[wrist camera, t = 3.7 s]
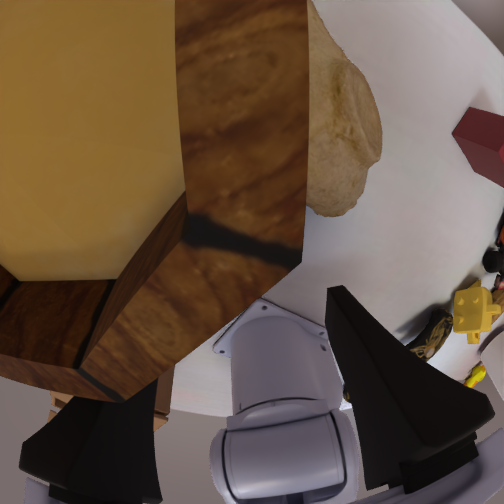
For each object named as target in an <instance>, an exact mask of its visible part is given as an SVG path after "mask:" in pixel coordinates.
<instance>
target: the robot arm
mask: <svg viewBox="0 0 504 504" xmlns="http://www.w3.org/2000/svg"><path fill="white" fill-rule="evenodd" d="M263 306H266V307H263ZM325 326H326V328H324V327H321V326H319V325H317V324H315V323H312V322H310V321H308V320H306V319H304V318H301V317H299V316H297V315H295V314H293V313H291V312H288V311H286V310H284V309H282V308H280V307H278V306H275V305H273V304H271V303H269V302H267V301H265V300H263V299H257V300H256V301H255V302H254V303H252V305H251V306H250V307H249V308H248V309H247V310H246V311H245V312H244V313H243V314H242V316H241V317H240V318H239V319H238V320H237V321H236V322H235V323H234V324H233V325H232V326H231V328H230V329H229V330H228V331H227V332H226V333H225V334H224V335H223V336H222V337H221V338H220V339H219V341H218V342H217V343H216V344H215V345H214V346H213V351H214V352H215V353H218V354H221V355H223V356H226V357H229V358H231V380H232V404H233V416H228V417H227V428H226V429H220V430H219V431H218V432H217V434H216V436H215V437H214V438H213V440H212V443H211V447H210V469H211V474H212V478H213V482H214V484H215V486H216V489H217V490H218V492H219V493H220V494H221V495H222V497H223V498H224V500H225V503H226V504H484V503H485V502H486V501H487V500H488V499H490V498H491V497H492V496H493V495H494V494H496V493H497V492H498V491H499V490H500V489H501V488H502V487H503V486H504V431H503V428H499V429H498V430H497V431H495V432H494V433H492V434H491V435H490V436H488V437H487V438H485V439H484V440H483V441H481V442H478V443H477V444H475V442H474V440H475V439H477V435H476V432H475V431H476V430H477V429H479V428H480V427H482V426H483V425H484V424H486V423H487V422H488V421H490V420H491V419H492V418H493V417H494V415H495V412H494V410H493V407H492V405H491V403H490V401H489V399H488V397H487V396H486V394H483V393H481V392H479V391H477V390H474V389H472V388H470V387H468V386H465V385H463V384H461V383H460V382H458V381H456V380H454V379H452V378H450V377H449V376H447V375H445V374H444V373H442V372H441V371H439V370H437V369H436V368H434V367H433V366H431V365H430V364H428V363H427V362H425V361H424V360H422V359H421V358H420V357H418V356H417V355H416V354H414V353H413V352H412V351H411V350H409V349H408V348H407V347H406V346H404V345H403V344H402V343H401V342H400V341H398V340H397V339H396V338H395V337H394V336H393V335H392V334H391V333H389V332H388V331H387V330H386V329H385V328H384V327H383V326H382V325H381V324H380V323H379V322H378V321H377V320H376V319H375V318H374V317H373V316H372V315H371V314H370V313H369V312H368V311H367V310H366V309H365V308H364V307H363V306H362V305H361V304H360V303H359V302H358V301H357V299H356V298H355V297H354V296H353V295H352V294H351V293H350V292H349V291H348V290H347V289H346V287H345V286H343V285H340V286H335V287H330V288H327V301H326V313H325ZM328 340H329V342H330V345H331V348H332V351H333V353H334V356H335V359H336V361H337V364H338V366H339V369H340V372H341V374H342V377H343V380H344V382H345V385H346V388H347V390H348V393H349V397H350V400H351V404H352V408H353V412H354V416H355V420H356V425H357V431H358V436H359V441H360V447H361V453H362V461H363V468H364V478H365V484H366V489H367V491H368V490H371V489H374V488H377V487H380V486H383V485H386V484H388V486H389V490H386V491H384V492H381V493H378V494H375V495H373V496H369V497H367V498H363V499H360V500H357V501H355V499H356V498H357V492H358V490H359V483H358V473H359V469H360V461H359V453H358V447H357V442H356V438H355V434H354V431H353V428H352V425H351V422H350V420H349V418H348V416H347V415H346V414H345V413H344V412H342V411H340V410H339V408H340V405H341V402H342V396H343V388H342V383H341V380H340V377H339V374H338V371H337V368H336V365H335V362H334V359H333V356H332V353H331V350H330V347H329V344H328ZM158 378H159V377H158ZM158 378H156V379H155V380H154V381H152V382H151V383H150V384H148V385H147V386H146V387H144V388H143V389H141V390H140V391H139V392H137V393H136V394H134V395H133V396H132V397H130V398H129V399H128V400H126V401H125V402H123V403H117V402H109V401H102V400H95V399H89V398H84V397H78V396H73V397H72V398H71V399H70V401H69V402H68V403H67V404H66V405H65V406H64V407H63V408H62V409H61V410H60V411H59V412H58V414H57V415H56V416H54V417H53V418H52V419H51V420H50V421H49V422H48V423H47V424H46V425H45V426H44V427H43V428H41V429H40V430H39V431H38V432H36V433H35V434H34V435H32V436H31V437H30V438H29V439H27V440H26V441H24V442H23V444H22V450H21V455H20V461H19V468H20V470H22V471H24V472H26V473H28V474H31V475H33V476H35V477H37V478H40V479H42V480H44V481H46V482H49V483H50V486H47V485H45V484H42V483H40V482H38V481H35V480H33V479H31V478H29V477H27V478H26V487H25V498H24V504H143V503H147V504H159V503H161V502H162V500H163V499H162V495H161V491H160V486H159V481H158V475H157V468H156V461H155V448H154V410H155V402H156V393H157V386H158Z"/></svg>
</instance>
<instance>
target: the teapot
mask: <svg viewBox="0 0 504 504" xmlns="http://www.w3.org/2000/svg"><path fill="white" fill-rule="evenodd" d="M480 286H481V279H480V280H477V281H476V282H475V283H474V284H473V285H471V286H470V287H469V288H468V289H464V290H459V291H456V293H455V298H454V314H453V331H454V332H455V333H467V341H468V344H479V339H480V332H487V331H490V330H491V323H492V315H495V314H501V306H499V305H497V304H493V305H492V294H491V292H490V291H489V290H488V289H486V288H485V287H480Z"/></svg>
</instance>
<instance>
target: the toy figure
mask: <svg viewBox="0 0 504 504" xmlns="http://www.w3.org/2000/svg"><path fill="white" fill-rule="evenodd" d="M472 371H473V373H472V377H470V378H469V379H467V380H466V381H465V383H464V384H463V385H465V386H468V387H470V388H473V387H474V386H475V385H476V384H477V382H478V381H481V380H482V379H483V378H484V375H485V373H486V369H485V367H484V365H483V366H476V367H475V368H474V369H473V370H472Z"/></svg>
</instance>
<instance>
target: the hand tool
mask: <svg viewBox="0 0 504 504" xmlns="http://www.w3.org/2000/svg"><path fill="white" fill-rule="evenodd" d="M493 304H497V305H499V306H501V314H502V313H503V312H504V289H500V290H495V291H494V292H493V293H492V305H493ZM501 314H495V315H492V323H491V325H492V324H493V323H494V322H495V321H496V320H497V319H498V317H499V316H500V315H501Z"/></svg>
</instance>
